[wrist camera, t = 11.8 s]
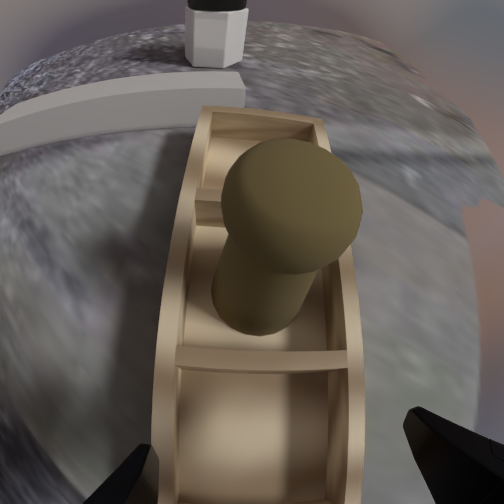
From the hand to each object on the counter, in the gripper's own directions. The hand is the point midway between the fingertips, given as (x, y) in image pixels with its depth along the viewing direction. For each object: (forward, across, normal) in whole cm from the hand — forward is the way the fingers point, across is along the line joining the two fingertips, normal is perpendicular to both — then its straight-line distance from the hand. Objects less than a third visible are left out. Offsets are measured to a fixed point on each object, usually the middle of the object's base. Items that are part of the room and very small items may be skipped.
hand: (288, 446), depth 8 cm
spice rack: (+12, 0, -1) cm, 12 cm away
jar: (+36, +3, -28) cm, 46 cm away
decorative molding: (+27, +17, -19) cm, 37 cm away
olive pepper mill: (+12, 0, -1) cm, 12 cm away
